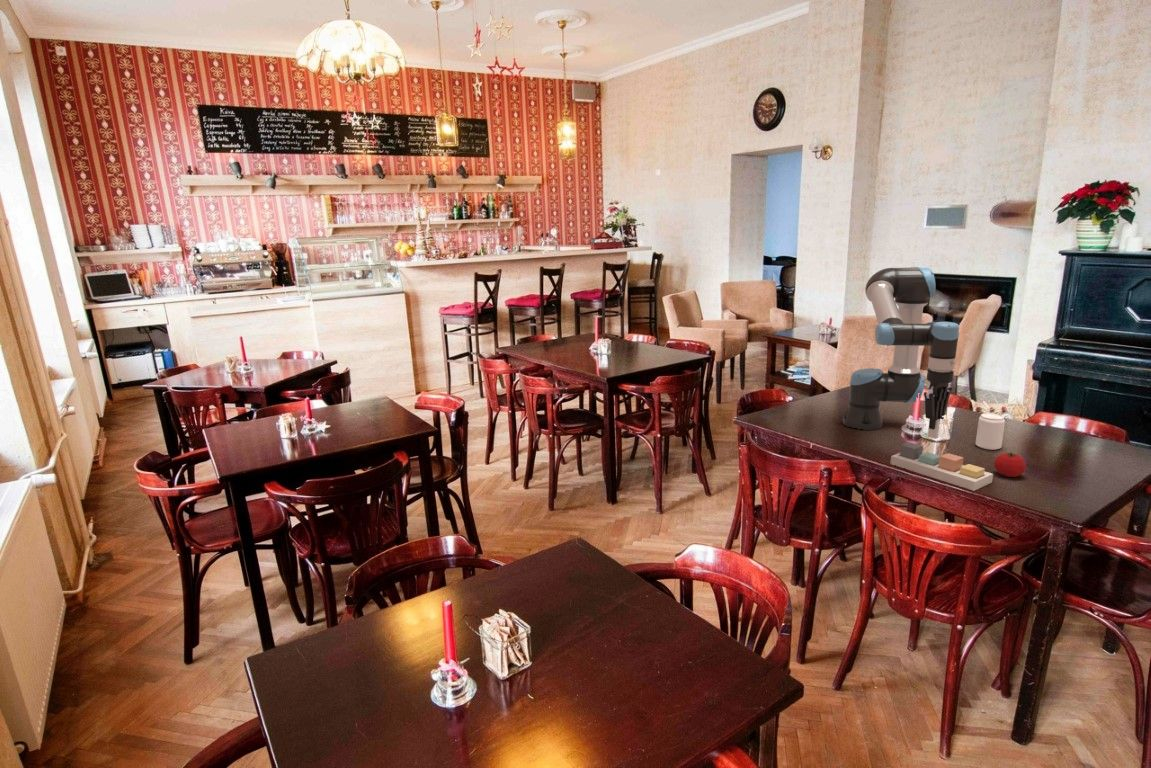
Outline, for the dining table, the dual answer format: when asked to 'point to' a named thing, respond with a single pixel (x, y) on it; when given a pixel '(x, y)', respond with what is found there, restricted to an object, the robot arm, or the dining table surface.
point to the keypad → (941, 473)
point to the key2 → (929, 458)
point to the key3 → (951, 462)
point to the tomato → (1010, 464)
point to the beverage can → (990, 431)
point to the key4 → (972, 471)
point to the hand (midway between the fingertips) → (932, 437)
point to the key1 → (911, 450)
